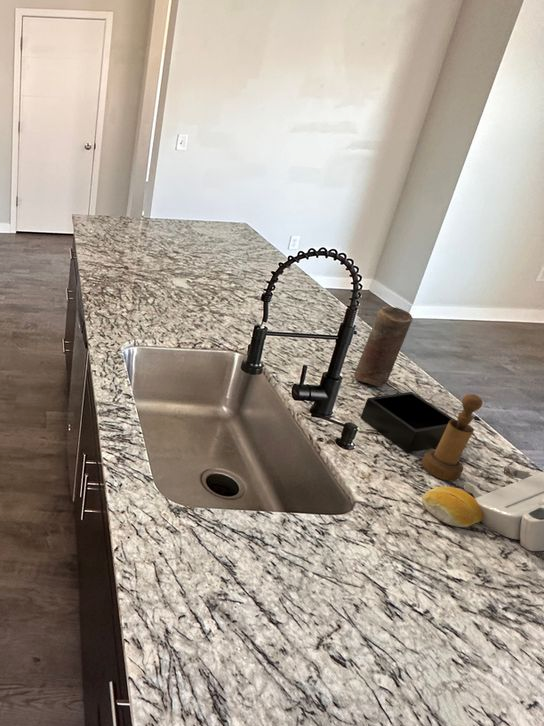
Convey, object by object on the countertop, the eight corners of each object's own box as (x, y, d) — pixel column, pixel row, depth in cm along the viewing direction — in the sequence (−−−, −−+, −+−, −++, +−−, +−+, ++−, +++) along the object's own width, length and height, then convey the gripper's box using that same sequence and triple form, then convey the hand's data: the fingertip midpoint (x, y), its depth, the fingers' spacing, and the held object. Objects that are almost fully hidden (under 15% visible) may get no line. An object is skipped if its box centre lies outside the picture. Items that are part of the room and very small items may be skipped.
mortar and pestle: (466, 483, 106) (504, 408, 98) (431, 479, 107) (466, 404, 99) (448, 461, 112) (483, 388, 104) (415, 456, 112) (446, 384, 105)
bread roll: (488, 520, 97) (497, 503, 96) (457, 534, 94) (466, 518, 92) (441, 489, 104) (449, 473, 102) (411, 501, 101) (419, 485, 99)
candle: (388, 381, 140) (415, 312, 131) (384, 393, 134) (411, 321, 126) (356, 370, 144) (380, 303, 135) (350, 381, 139) (374, 311, 130)
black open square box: (403, 411, 128) (411, 391, 125) (452, 445, 117) (462, 424, 114) (360, 418, 124) (367, 397, 122) (406, 453, 114) (416, 432, 111)
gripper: (619, 485, 92) (530, 446, 105) (524, 524, 89) (444, 479, 102) (615, 515, 94) (528, 473, 107) (521, 554, 91) (444, 506, 104)
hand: (486, 476), depth 104 cm, fingers open, 8 cm apart
